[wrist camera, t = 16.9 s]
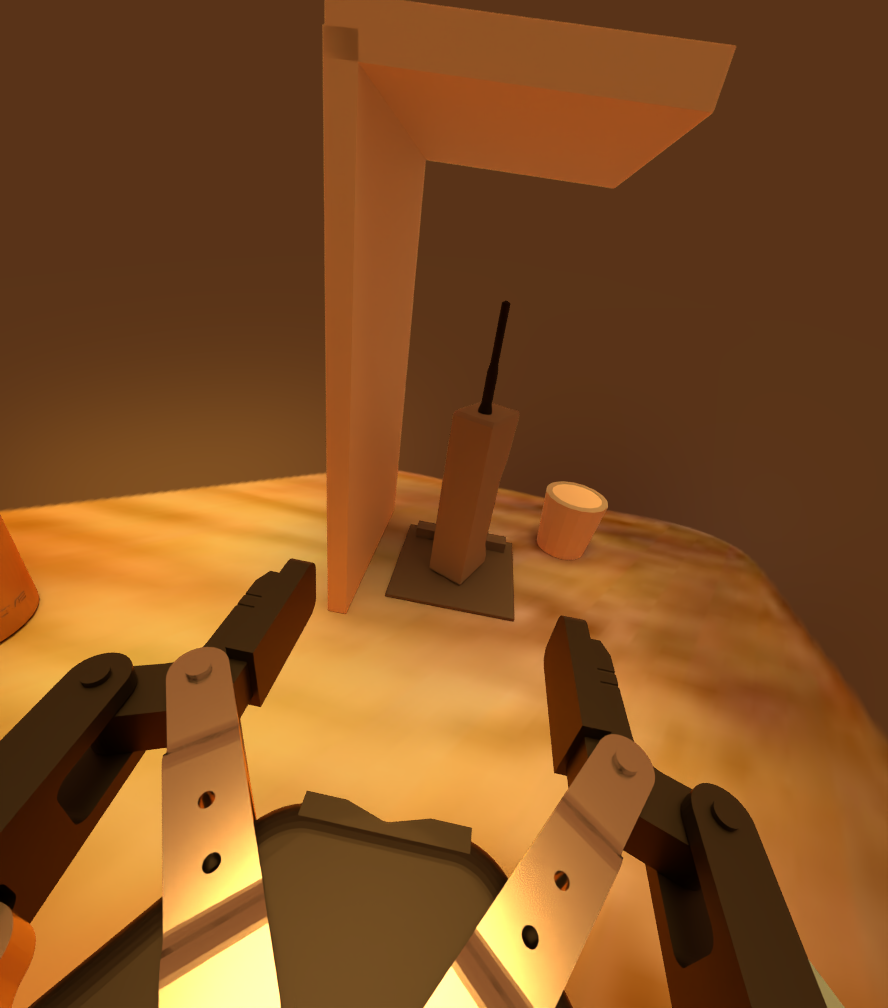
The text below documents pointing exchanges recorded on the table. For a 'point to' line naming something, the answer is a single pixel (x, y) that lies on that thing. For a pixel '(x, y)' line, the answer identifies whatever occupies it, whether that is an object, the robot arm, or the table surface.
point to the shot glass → (569, 519)
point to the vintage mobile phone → (473, 476)
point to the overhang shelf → (397, 211)
